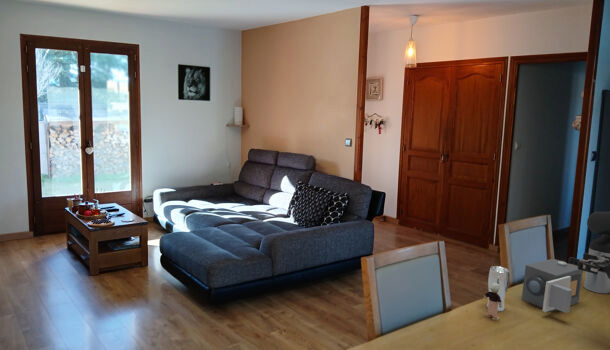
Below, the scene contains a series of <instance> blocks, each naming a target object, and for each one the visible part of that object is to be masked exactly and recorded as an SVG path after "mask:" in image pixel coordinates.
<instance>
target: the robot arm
mask: <svg viewBox="0 0 610 350" xmlns="http://www.w3.org/2000/svg"><path fill="white" fill-rule="evenodd" d="M586 220H587V221H586V225H587V228H588V229H589V230H590V232H592V233H594V234H598V235H601V236H600V237H598V238H596V239H593V240H590V243H589V248H588V253H587V252H585V253H583V255H582V259H579V258H575V257H572V256H569V257H568V259H567V263H568V264H571V265H574V266H578V269H579V270H583V272H585V275H584V281H583V288H584V289H586V290H588V291H590V292H594V293H597V294H609V293H610V211H594V212H592V213H591V214H590V215H589V216H588V217H587V219H586Z"/></svg>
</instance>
